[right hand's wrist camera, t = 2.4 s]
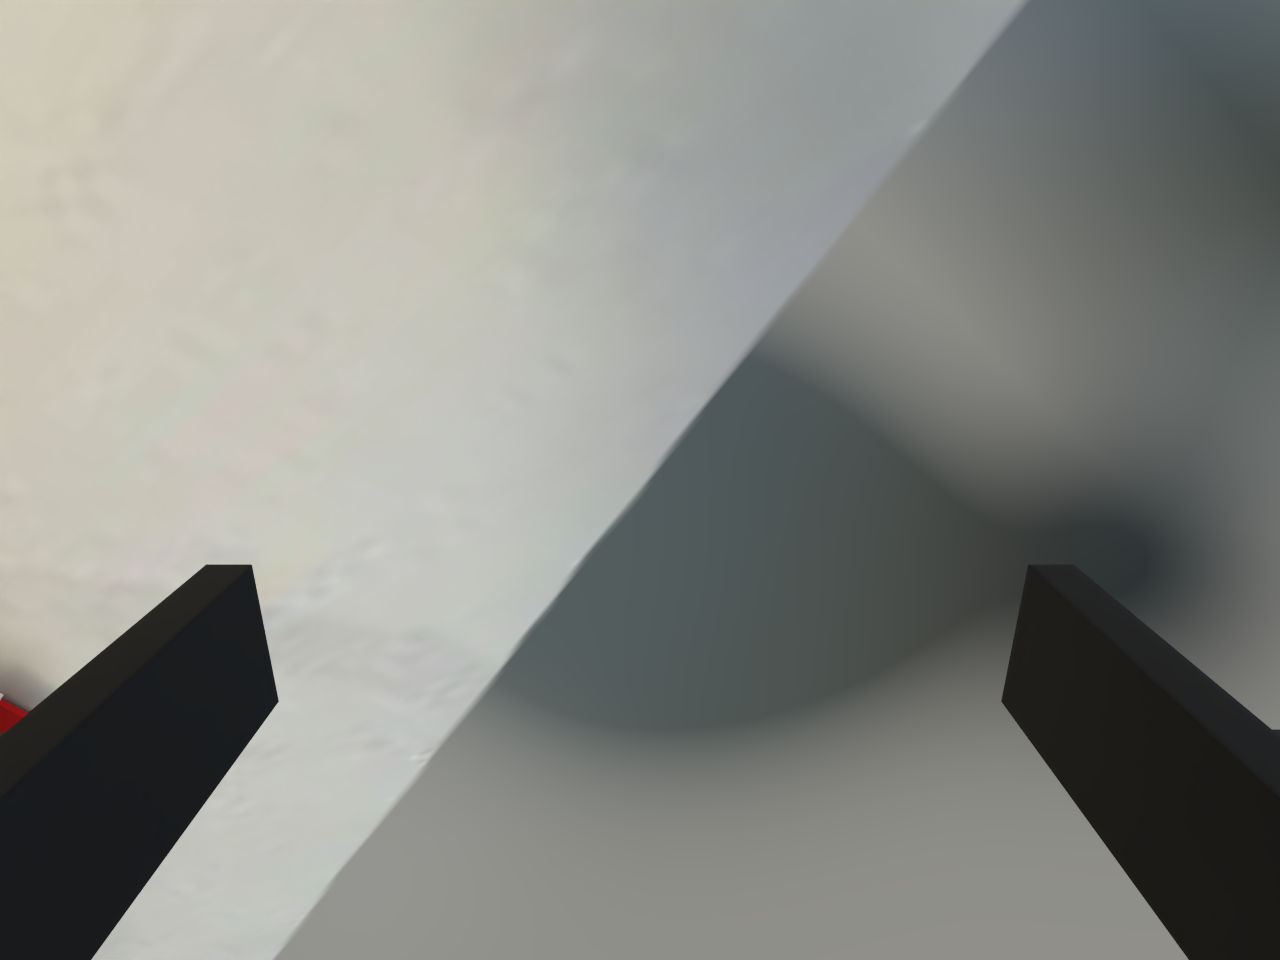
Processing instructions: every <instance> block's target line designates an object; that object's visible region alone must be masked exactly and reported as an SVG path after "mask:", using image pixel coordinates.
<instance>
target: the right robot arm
mask: <svg viewBox="0 0 1280 960" xmlns="http://www.w3.org/2000/svg"><path fill="white" fill-rule="evenodd" d="M278 702H279V701H278V696H277V691H276V686H275V681H274V676H273V670H272V665H271V660H270V655H269V650H268V645H267V640H266V635H265V630H264V625H263V620H262V615H261V610H260V604H259V599H258V594H257V589H256V584H255V579H254V574H253V569H252V565H205V566H204V567H203V568H202V569H201V570H199V571H198V572H197V573H196V574H195V575H193V576H192V577H191V578H190V579H189V580H187V581H186V582H185V583H184V584H183V585H181V586H180V587H179V588H178V589H177V590H175V591H174V592H173V593H172V594H171V595H169V596H168V597H167V598H166V599H165V600H163V601H162V602H161V603H160V604H159V605H157V606H156V607H155V608H154V609H153V610H151V611H150V612H149V613H148V614H147V615H145V616H144V617H143V618H142V619H141V620H139V621H138V622H137V623H136V624H135V625H133V626H132V627H131V628H130V629H129V630H127V631H126V632H125V633H124V634H123V635H121V636H120V637H119V638H118V639H117V640H115V641H114V642H113V643H112V644H111V645H109V646H108V647H107V648H106V649H105V650H103V651H102V652H101V653H100V654H99V655H97V656H96V657H95V658H94V659H93V660H91V661H90V662H89V663H88V664H86V665H85V666H84V667H83V668H82V669H80V670H79V671H78V672H77V673H76V674H74V675H73V676H72V677H71V678H70V679H68V680H67V681H66V682H65V683H64V684H62V685H61V686H60V687H59V688H58V689H56V690H55V691H54V692H53V693H52V694H50V695H49V696H48V697H47V698H46V699H44V700H43V701H42V702H41V703H40V704H38V705H37V706H36V707H35V708H34V709H32V710H31V711H30V712H29V713H28V714H26V715H25V716H24V717H23V718H22V719H20V720H19V721H18V722H17V723H16V724H14V725H13V726H12V727H11V728H10V729H8V730H7V731H6V732H0V960H91V959H92V958H93V956H94V955H95V954H96V952H97V951H98V949H99V948H100V947H101V945H102V944H103V943H104V941H105V940H106V938H107V937H108V936H109V934H110V933H111V932H112V930H113V929H114V927H115V926H116V925H117V923H118V922H119V921H120V919H121V918H122V916H123V915H124V914H125V912H126V911H127V909H128V908H129V907H130V905H131V904H132V903H133V901H134V900H135V898H136V897H137V896H138V894H139V893H140V892H141V890H142V889H143V887H144V886H145V885H146V883H147V882H148V881H149V879H150V878H151V876H152V875H153V874H154V872H155V871H156V870H157V868H158V867H159V865H160V864H161V863H162V861H163V860H164V859H165V857H166V856H167V854H168V853H169V852H170V850H171V849H172V848H173V846H174V845H175V843H176V842H177V841H178V839H179V838H180V836H181V835H182V834H183V832H184V831H185V830H186V828H187V827H188V825H189V824H190V823H191V821H192V820H193V819H194V817H195V816H196V814H197V813H198V812H199V810H200V809H201V808H202V806H203V805H204V803H205V802H206V801H207V799H208V798H209V797H210V795H211V794H212V792H213V791H214V790H215V788H216V787H217V786H218V784H219V783H220V781H221V780H222V779H223V777H224V776H225V775H226V773H227V772H228V770H229V769H230V768H231V766H232V765H233V764H234V762H235V761H236V759H237V758H238V757H239V755H240V754H241V752H242V751H243V750H244V748H245V747H246V746H247V744H248V743H249V741H250V740H251V739H252V737H253V736H254V735H255V733H256V732H257V730H258V729H259V728H260V726H261V725H262V724H263V722H264V721H265V719H266V718H267V717H268V715H269V714H270V713H271V711H272V710H273V708H274V707H275V706H276V704H277V703H278ZM1002 703H1003V704H1004V706H1005V707H1006V708H1007V710H1008V711H1009V713H1010V714H1011V715H1012V717H1013V718H1014V719H1015V721H1016V722H1017V724H1018V725H1019V726H1020V728H1021V729H1022V730H1023V732H1024V733H1025V735H1026V736H1027V737H1028V739H1029V740H1030V741H1031V743H1032V744H1033V746H1034V747H1035V748H1036V750H1037V751H1038V752H1039V754H1040V755H1041V757H1042V758H1043V759H1044V761H1045V762H1046V763H1047V765H1048V766H1049V768H1050V769H1051V770H1052V772H1053V773H1054V774H1055V776H1056V777H1057V779H1058V780H1059V781H1060V783H1061V784H1062V786H1063V787H1064V788H1065V790H1066V791H1067V792H1068V794H1069V795H1070V797H1071V798H1072V799H1073V801H1074V802H1075V803H1076V805H1077V806H1078V808H1079V809H1080V810H1081V812H1082V813H1083V814H1084V816H1085V817H1086V819H1087V820H1088V821H1089V823H1090V824H1091V825H1092V827H1093V828H1094V830H1095V831H1096V832H1097V834H1098V835H1099V836H1100V838H1101V839H1102V841H1103V842H1104V843H1105V845H1106V846H1107V848H1108V849H1109V850H1110V852H1111V853H1112V854H1113V856H1114V857H1115V858H1116V860H1117V861H1118V863H1119V864H1120V865H1121V867H1122V868H1123V870H1124V871H1125V872H1126V874H1127V875H1128V876H1129V878H1130V879H1131V881H1132V882H1133V883H1134V885H1135V886H1136V887H1137V889H1138V890H1139V892H1140V893H1141V894H1142V896H1143V897H1144V898H1145V900H1146V901H1147V903H1148V904H1149V905H1150V907H1151V908H1152V909H1153V911H1154V912H1155V914H1156V915H1157V916H1158V918H1159V919H1160V921H1161V922H1162V923H1163V925H1164V926H1165V927H1166V929H1167V930H1168V932H1169V933H1170V934H1171V936H1172V937H1173V938H1174V940H1175V941H1176V943H1177V944H1178V945H1179V947H1180V948H1181V949H1182V951H1183V952H1184V954H1185V955H1186V956H1187V958H1188V959H1189V960H1280V730H1272V729H1270V728H1269V727H1268V726H1267V725H1266V724H1264V723H1263V722H1262V721H1261V720H1260V719H1258V718H1257V717H1256V716H1255V715H1254V714H1252V713H1251V712H1250V711H1249V710H1248V709H1246V708H1245V707H1244V706H1243V705H1242V704H1240V703H1239V702H1238V701H1237V700H1236V699H1234V698H1233V697H1232V696H1231V695H1230V694H1228V693H1227V692H1226V691H1225V690H1224V689H1222V688H1221V687H1220V686H1219V685H1218V684H1216V683H1215V682H1214V681H1213V680H1211V679H1210V678H1209V677H1208V676H1207V675H1206V674H1204V673H1203V672H1202V671H1201V670H1199V669H1198V668H1197V667H1196V666H1195V665H1193V664H1192V663H1191V662H1190V661H1189V660H1187V659H1186V658H1185V657H1184V656H1183V655H1181V654H1180V653H1179V652H1178V651H1177V650H1175V649H1174V648H1173V647H1172V646H1171V645H1169V644H1168V643H1167V642H1166V641H1165V640H1163V639H1162V638H1161V637H1160V636H1159V635H1157V634H1156V633H1155V632H1154V631H1153V630H1151V629H1150V628H1149V627H1148V626H1147V625H1145V624H1144V623H1143V622H1142V621H1141V620H1139V619H1138V618H1137V617H1136V616H1135V615H1133V614H1132V613H1131V612H1130V611H1129V610H1127V609H1126V608H1125V607H1124V606H1123V605H1121V604H1120V603H1119V602H1118V601H1117V600H1115V599H1114V598H1113V597H1112V596H1110V595H1109V594H1108V593H1107V592H1106V591H1105V590H1103V589H1102V588H1101V587H1100V586H1099V585H1097V584H1096V583H1095V582H1094V581H1093V580H1091V579H1090V578H1089V577H1088V576H1087V575H1085V574H1084V573H1083V572H1082V571H1081V570H1079V569H1078V568H1077V567H1076V566H1075V565H1028V569H1027V574H1026V579H1025V584H1024V589H1023V594H1022V599H1021V605H1020V610H1019V615H1018V620H1017V625H1016V630H1015V635H1014V640H1013V645H1012V650H1011V656H1010V660H1009V665H1008V670H1007V676H1006V681H1005V686H1004V691H1003V696H1002Z"/></svg>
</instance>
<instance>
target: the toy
mask: <svg viewBox="0 0 1280 960" xmlns="http://www.w3.org/2000/svg"><path fill="white" fill-rule="evenodd" d="M3 696H4V695H3V694H2V693H0V732H6V731H7V730H8V729H10V728H11V727H12V726H13V725H14V724H16V723H17V722H18V721H19V720H20V719H22V718H23V717H24V716H25V715H26V714H28V712H26V711H24V710H22V709H20V708H19V707H17V706H15V705H13V704H11V703H9V702H7V701H5V700H4V699H2V697H3Z"/></svg>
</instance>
